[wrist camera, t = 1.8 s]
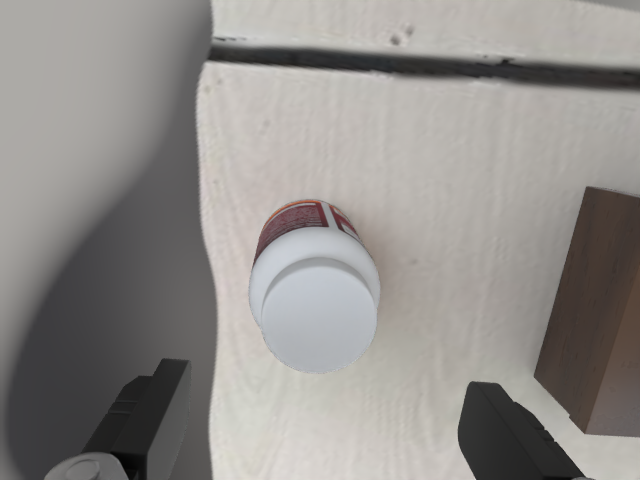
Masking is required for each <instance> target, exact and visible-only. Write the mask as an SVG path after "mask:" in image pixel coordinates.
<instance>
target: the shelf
mask: <svg viewBox="0 0 640 480" xmlns="http://www.w3.org/2000/svg"><path fill="white" fill-rule="evenodd" d="M534 378H535V379H536V380H537V381H538V382H539V383H540V384H541V385H542V386H543V387H544V388H545V389H546V390H547V391H548V392H549V393H550V394H551V395H552V396H553V397H554V399H555V400H556V401H557V402H558V403H559V404H560V405H561V406H562V407H563V408H564V409H565V410H566V411H567V412H568V413H569V414H570V416H569V418H570V419H571V420H572V421H573V422H574V423H575V425H576V426H577V427H578V428H579V429H580V430H581V431H582V432H583V433H584V434H591V435H608V436H624V437H640V195H637V194H632V193H627V192H622V191H617V190H612V189H607V188H598V187H590V186H588V187H586V191H585V194H584V198H583V202H582V205H581V209H580V212H579V216H578V220H577V223H576V227H575V230H574V234H573V238H572V241H571V245H570V249H569V252H568V256H567V259H566V263H565V267H564V270H563V274H562V277H561V281H560V285H559V288H558V292H557V295H556V299H555V303H554V306H553V310H552V313H551V317H550V321H549V324H548V328H547V332H546V335H545V339H544V342H543V346H542V350H541V353H540V357H539V360H538V364H537V368H536V371H535V375H534Z"/></svg>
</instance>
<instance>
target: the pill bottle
mask: <svg viewBox="0 0 640 480" xmlns="http://www.w3.org/2000/svg"><path fill="white" fill-rule="evenodd" d="M379 299H380V280H379V275H378V272H377V269H376V266H375V264H374V262H373V259H372V257H371V256H370V254H369V253H368V251H367V249H366V248H365V246H364V244H363V243H362V241H361V240H360V238H359V236H358V235H357V233H356V231H355V230H354V228H353V226H352V225H351V223H350V222H349V220H348V219H347V218H346V216H345V215H344V214H343V213H342V212H340V211H339V210H338V209H336V208H335V207H333V206H332V205H330V204H327V203H325V202H322V201H318V200H300V201H295V202H291V203H289V204H286V205H284V206H283V207H281V208H279V209H278V210H277V211H276V212H274V213H273V214H272V215H271V216H270V218H269V219H268V220H267V222H266V223H265V225H264V227H263V229H262V231H261V234H260V237H259V242H258V246H257V250H256V254H255V258H254V263H253V267H252V271H251V276H250V281H249V303H250V308H251V311H252V314H253V316H254V318H255V320H256V322H257V324H258V326H259V327H260V328H261V330H262V334H263V337H264V340H265V342H266V344H267V346H268V348H269V349H270V351H271V352H272V353H273V354H274V356H276V357H277V358H278V359H279V360H280V361H281V362H283V363H284V364H286V365H287V366H289V367H291V368H293V369H296V370H299V371H302V372H307V373H327V372H333V371H336V370H339V369H342V368H344V367H346V366H348V365H350V364H351V363H353V362H354V361H355V360H357V359H358V358H359V357H360V356H361V355H362V354H363V353H364V352H365V351H366V349H367V348H368V347H369V345H370V343H371V342H372V340H373V337H374V335H375V331H376V327H377V308H378V304H379Z"/></svg>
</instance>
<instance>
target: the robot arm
mask: <svg viewBox="0 0 640 480" xmlns="http://www.w3.org/2000/svg"><path fill="white" fill-rule="evenodd" d="M190 386H191V361H190V360H179V359H178V360H177V359H165V358H164V359H162V360H161V362H160V364H159V365H158V367H157V369H156V371H155V373H154V374H153V376H138V377H137V378H135V379H134V380H133V381H131V382H130V383H128V384H127V385H125V386H124V387H123V389H122V390H121V392H120V394H119V395H118V397H117V398H116V401H115V402H114V403H113V404H112V406H111V407H110V409H109V411H108V414H106V415H105V417H104V418H103V420H102V421H101V423H100V424H99V426H98V427H97V429H96V431H95V432H94V434H93V435H92V437H91V438H90V440H89V441H88V443H87V444H86V446H85V447H84V449H83V450H82V452H81V453H80V454H79V455H75V456H73V457H70V458H68V459H66V460H64V461H62V462H61V463H59V464H58V465H56V466H55V467H54V468H53V469H52V470H51V471H50V472H49V473H48V474H47V475H46V477H45V478H44V480H169V477H170V474H171V471H172V469H173V466H174V463H175V460H176V457H177V454H178V451H179V449H180V446H181V443H182V440H183V437H184V435H185V431H186V427H187V423H188V416H189V405H190ZM458 442H459V446H460V449H461V451H462V453H463V455H464V457H465V459H466V461H467V463H468V465H469V467H470V469H471V471H472V472H473V474H474V476H475V478H476V480H595V479H591V478H586V477H585V475H584V474H583V473H582V472H581V471H580V469H579V468H578V467H577V466H576V465H575V463H574V462H573V461H572V460H571V459H570V457H569V456H568V455H567V454H566V453H565V451H564V450H563V449H562V448H561V447H560V446H559V444H558V443H557V442H554V438H553V437H552V436H551V435H550V434H549V432H548V431H547V430H545V429H544V426H543V425H542V424H541V423H540V422H539V420H538V419H537V418H536V417H535V416H534V415H533V414H532V413H531V412H530V411H528V410H527V409H525V408H524V407H523V406H521V405H520V404H519V403H517V402H513V400H512V399H511V398H510V397H509V395H508V394H507V393H506V392H505V390H504V389H503V388H502V387H501V386H500V385H499V384H498V383H488V382H474V381H472V382H470V383H469V385H468V387H467V391H466V395H465V399H464V404H463V408H462V412H461V417H460V421H459V425H458Z"/></svg>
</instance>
